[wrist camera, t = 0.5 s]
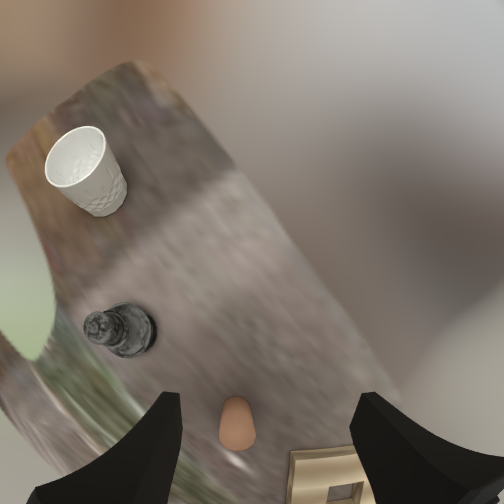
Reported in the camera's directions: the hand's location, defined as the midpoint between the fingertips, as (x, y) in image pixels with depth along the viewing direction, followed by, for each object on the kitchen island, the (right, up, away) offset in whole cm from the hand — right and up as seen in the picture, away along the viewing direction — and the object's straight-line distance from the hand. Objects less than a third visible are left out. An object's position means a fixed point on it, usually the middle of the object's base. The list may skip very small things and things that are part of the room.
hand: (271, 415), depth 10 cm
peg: (-3, -11, +20) cm, 23 cm away
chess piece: (-14, -3, +22) cm, 26 cm away
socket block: (+10, -23, +17) cm, 31 cm away
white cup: (-20, +14, +26) cm, 36 cm away
